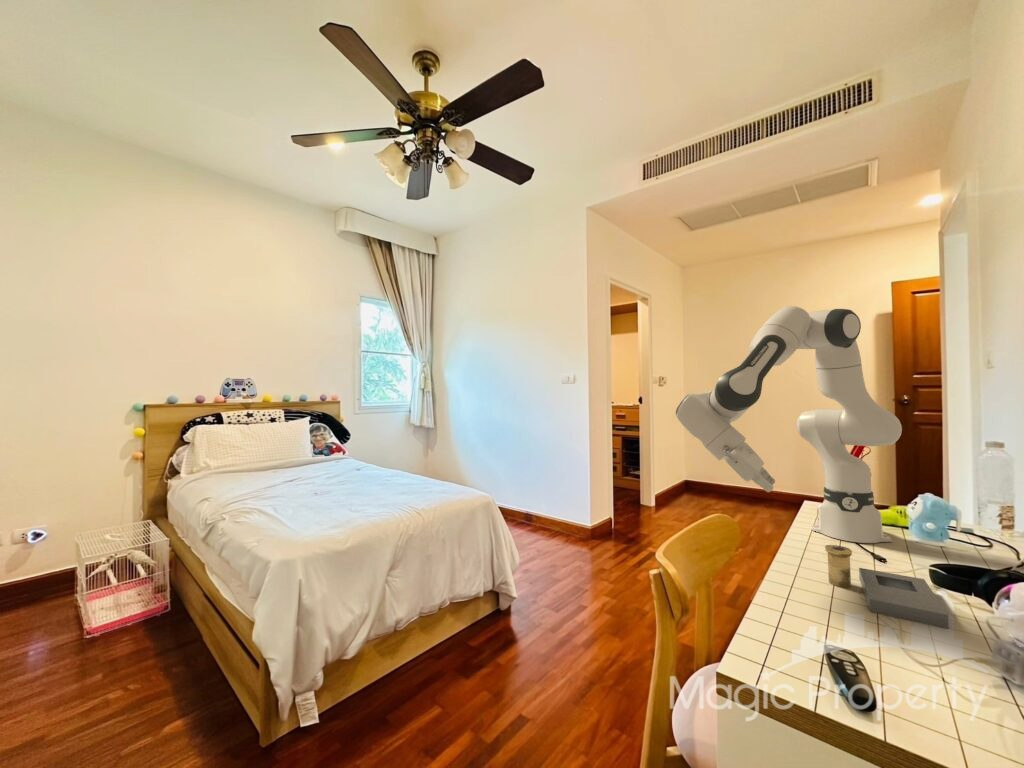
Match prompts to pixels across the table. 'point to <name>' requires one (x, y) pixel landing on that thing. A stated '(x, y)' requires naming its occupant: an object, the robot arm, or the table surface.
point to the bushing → (839, 565)
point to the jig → (902, 597)
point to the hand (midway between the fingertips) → (772, 486)
